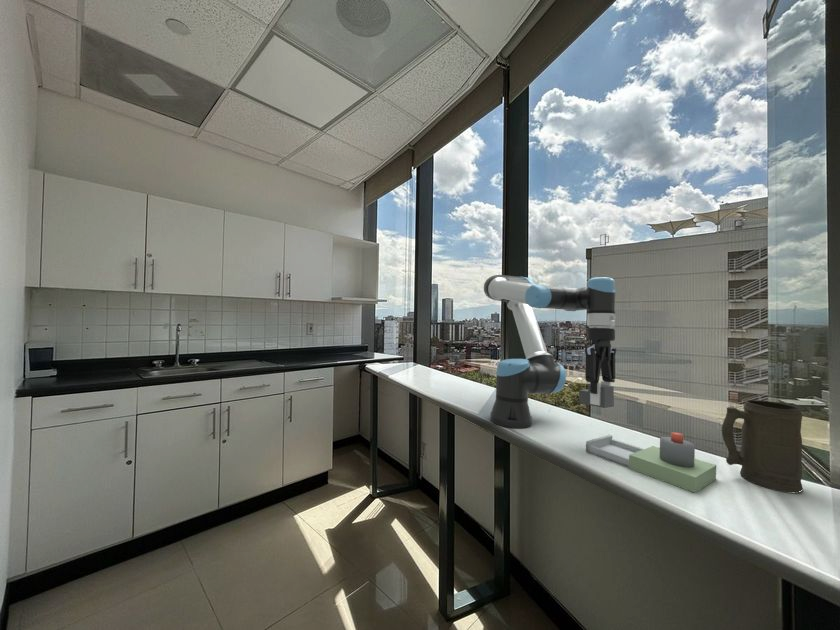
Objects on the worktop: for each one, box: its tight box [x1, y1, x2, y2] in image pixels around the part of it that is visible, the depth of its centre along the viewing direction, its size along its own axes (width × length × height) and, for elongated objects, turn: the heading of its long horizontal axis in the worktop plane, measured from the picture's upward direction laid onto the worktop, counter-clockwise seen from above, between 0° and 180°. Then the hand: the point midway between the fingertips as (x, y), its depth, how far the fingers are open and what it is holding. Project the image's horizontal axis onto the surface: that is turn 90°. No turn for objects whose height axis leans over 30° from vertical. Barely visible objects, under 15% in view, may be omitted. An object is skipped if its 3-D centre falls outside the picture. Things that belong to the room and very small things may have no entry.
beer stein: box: [721, 399, 804, 493], centre depth 82 cm, size 15×11×20 cm
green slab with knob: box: [585, 431, 717, 493], centre depth 89 cm, size 26×14×10 cm, turn 33°
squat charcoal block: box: [578, 384, 615, 409], centre depth 101 cm, size 8×5×6 cm, turn 32°
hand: (600, 403), depth 100 cm, fingers closed on squat charcoal block, 5 cm apart
